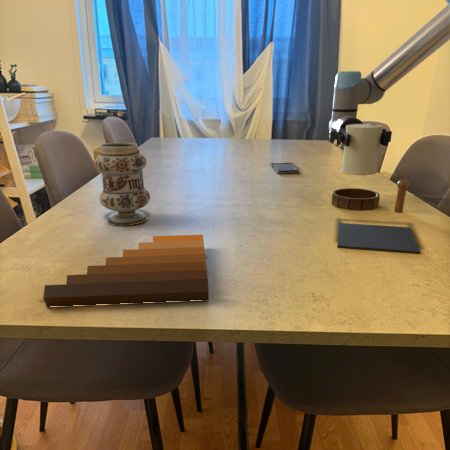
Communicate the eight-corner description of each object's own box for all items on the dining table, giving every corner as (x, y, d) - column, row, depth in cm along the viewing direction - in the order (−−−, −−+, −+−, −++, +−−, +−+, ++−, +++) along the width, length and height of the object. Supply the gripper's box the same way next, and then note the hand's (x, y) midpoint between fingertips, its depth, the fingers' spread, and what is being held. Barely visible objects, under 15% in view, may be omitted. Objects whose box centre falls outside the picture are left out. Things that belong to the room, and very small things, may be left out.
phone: (290, 162, 170) (299, 170, 157) (290, 165, 170) (298, 173, 157) (270, 163, 169) (277, 170, 156) (270, 166, 170) (277, 173, 157)
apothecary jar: (151, 212, 113) (145, 140, 105) (152, 226, 103) (145, 147, 95) (104, 214, 112) (94, 141, 103) (100, 229, 101) (88, 148, 93)
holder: (399, 201, 122) (404, 170, 118) (404, 213, 111) (410, 180, 107) (332, 197, 126) (335, 168, 122) (330, 209, 115) (334, 177, 111)
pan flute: (46, 310, 66) (208, 303, 68) (41, 290, 65) (208, 283, 66) (81, 251, 88) (203, 247, 90) (78, 235, 87) (202, 231, 88)
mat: (409, 229, 100) (410, 227, 99) (419, 254, 86) (420, 251, 86) (338, 224, 103) (338, 222, 103) (337, 247, 89) (337, 245, 89)
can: (384, 172, 114) (391, 123, 109) (360, 176, 110) (367, 126, 104) (356, 167, 121) (362, 121, 115) (333, 171, 116) (338, 123, 111)
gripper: (384, 143, 129) (408, 156, 108) (311, 144, 130) (322, 156, 110) (388, 116, 125) (414, 124, 105) (313, 117, 126) (325, 124, 106)
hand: (367, 140), depth 107 cm, fingers closed on can, 9 cm apart
